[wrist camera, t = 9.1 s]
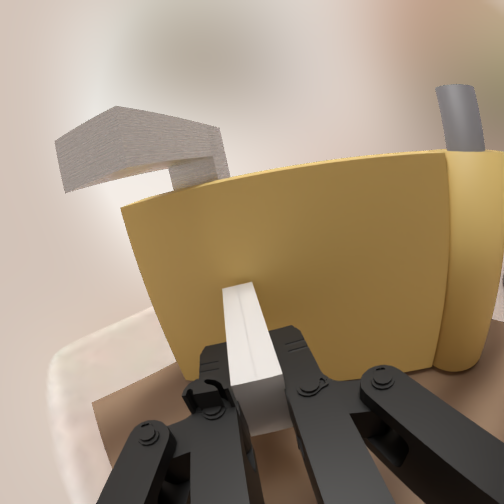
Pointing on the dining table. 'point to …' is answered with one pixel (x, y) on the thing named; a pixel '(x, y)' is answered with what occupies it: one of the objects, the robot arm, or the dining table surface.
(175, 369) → the board
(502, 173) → the hinged door
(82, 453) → the dining table surface
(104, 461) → the dining table surface
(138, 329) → the dining table surface
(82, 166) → the hook
